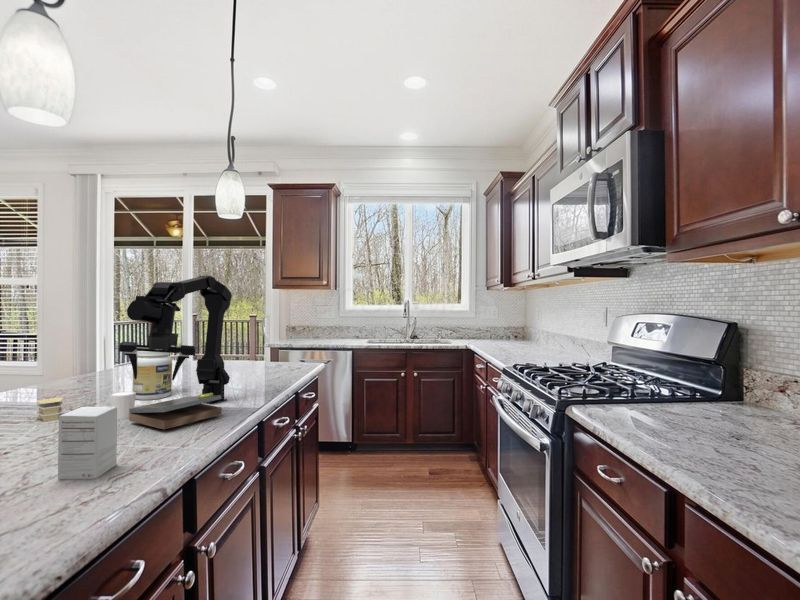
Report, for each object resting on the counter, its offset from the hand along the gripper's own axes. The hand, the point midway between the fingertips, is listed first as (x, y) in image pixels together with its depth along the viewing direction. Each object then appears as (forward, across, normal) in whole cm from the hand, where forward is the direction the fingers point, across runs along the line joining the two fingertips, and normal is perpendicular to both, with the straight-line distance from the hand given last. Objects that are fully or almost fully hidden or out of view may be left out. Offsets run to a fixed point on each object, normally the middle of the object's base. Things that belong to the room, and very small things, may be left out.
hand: (154, 379), depth 120 cm
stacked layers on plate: (+13, -25, +21) cm, 35 cm away
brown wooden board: (+12, +7, +3) cm, 14 cm away
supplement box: (+18, -9, -30) cm, 36 cm away
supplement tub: (+8, 0, +39) cm, 40 cm away
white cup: (+12, -7, +14) cm, 20 cm away
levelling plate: (+7, +7, +2) cm, 10 cm away
